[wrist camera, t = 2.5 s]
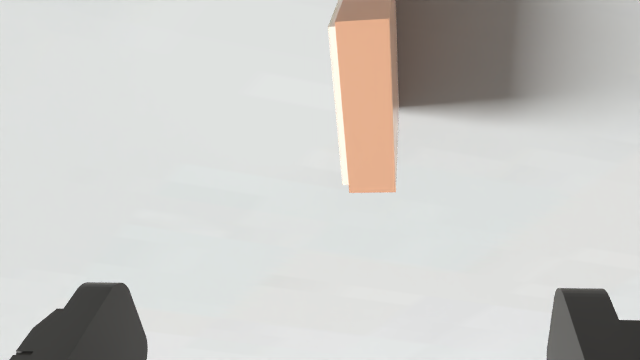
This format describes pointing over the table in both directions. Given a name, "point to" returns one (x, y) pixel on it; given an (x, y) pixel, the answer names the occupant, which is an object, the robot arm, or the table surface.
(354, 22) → the tile
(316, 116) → the table surface
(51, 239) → the table surface
